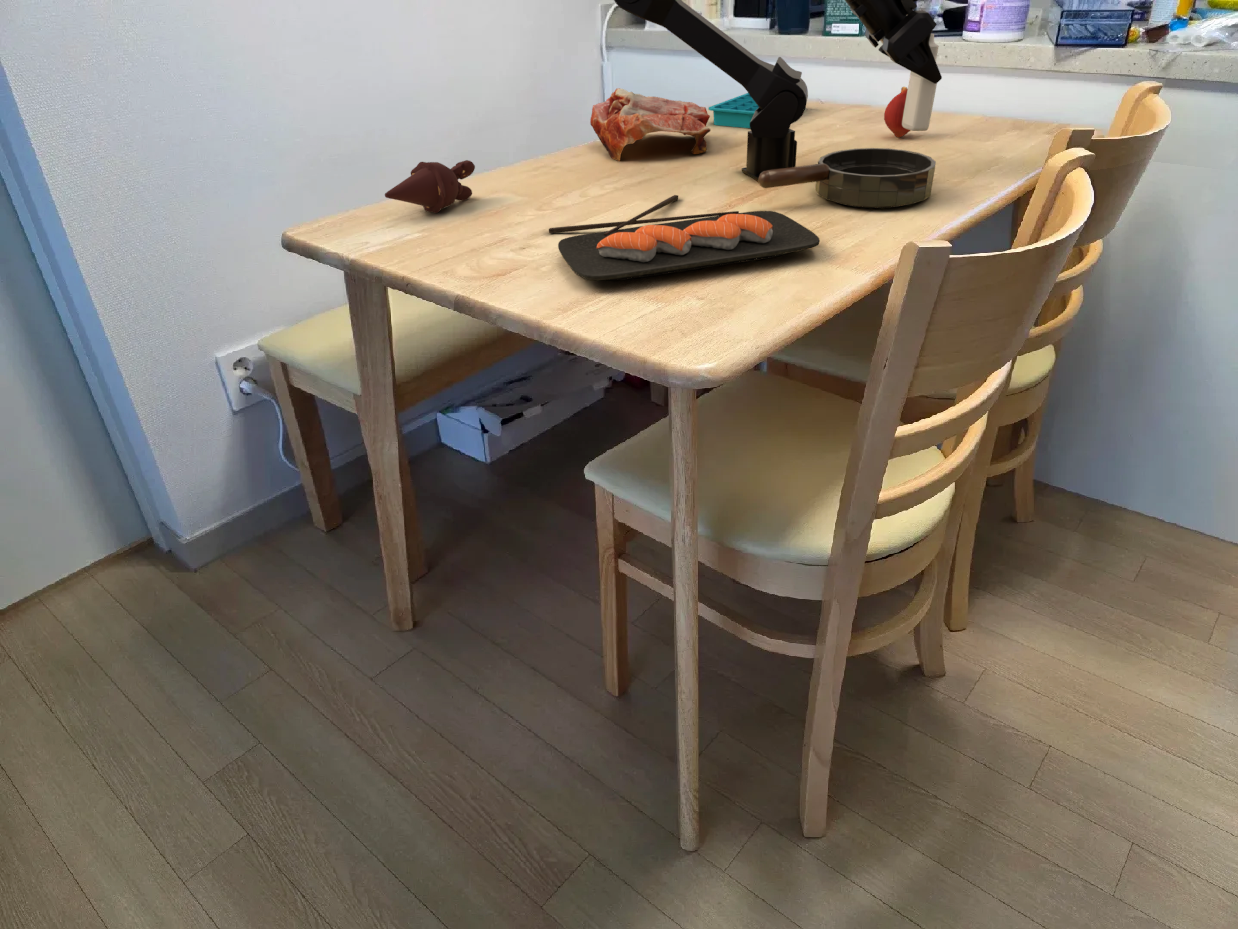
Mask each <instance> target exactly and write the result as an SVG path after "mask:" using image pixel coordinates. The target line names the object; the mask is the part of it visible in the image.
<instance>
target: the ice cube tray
mask: <svg viewBox="0 0 1238 929" xmlns="http://www.w3.org/2000/svg"><path fill="white" fill-rule="evenodd" d="M758 108H759V106H758V105H757V104H756V103H755V101H754V100H753V99H752V97H751V96H750V94H749V93H748V92H747V93H744V94H741V95H738V96H736V97H732V98H729V99H727V100H725V101H722V102H719V103H717V104H714V105H711V106H708V111H711V112H712V113H713V125H715V126H720V127H722V126H723V127H731V128H732V127H733V128H742V129H743V128H744V129H751V128H750V121H751V119H752V117H753V115H754V112H755V111H756V110H757V109H758Z"/></svg>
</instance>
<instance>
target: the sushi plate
mask: <svg viewBox="0 0 1238 929" xmlns="http://www.w3.org/2000/svg"><path fill="white" fill-rule="evenodd" d="M678 200H679V195H678V194H674V195H672V196H670V197H668V198H666V199H664V200H662V201H660V202H659V203H657V204H655V205H654V206H651V207H650V208H649V209H646V210H645V211H643V212H641V213H639V214H637V215H636V216H634V217H632V218H630V219H628V220H624V221H611V222H599V223H588V224H578V225H567V226H555V227H549V228H548V234H558V233H559V234H560V233H568V232H569V233H570V232H578V231H589V230H598V229H599V230H600V229H607V228H608V229H609V228H612V229H610V230H605V231H598V232H590V233H585V234H578V235H573V236H569V237H565V238H562V239H560V240H559V241H558V244H557V249H558V251H559V253H560V255H561V256H562V258H563V260H564V261H565V262H566V263H567V265H568V267H570V269H571V270H572V272H574V273H575V274H576V275H577V276H578V277H580V278H582V279H585V280H588V281H589V280H590V281H602V280H604V281H626V280H634V279H639V278H646V277H653V276H659V275H666V274H673V273H680V272H686V271H692V270H699V269H706V268H712V267H719V266H727V265H733V264H739V263H747V262H752V261H759V260H760V261H761V260H765V259H772V258H777V257H781V256H783V255H785V254H790V253H794V252H800V251H806V250H810V249H813V248H816V247H818V246H819V245H820V242H821V240H820V237H819V236H818V235H817V234H816V233H814V232H813V231H811V230H810V229H808V228H807V227H805V226H804V225H802V224H801V223H800V222H798V221H796V220H794V219H792V218H790V217H789V216H787V215H785V214H783V213H780V212H778V211H772V210H754V211H746V212H744V211H743V212H740V211H739V210H734V211H722V212H712V213H711V212H710V213H701V214H691V215H680V216H679V215H678V216H668V217H659V218H649V219H648V218H647V219H642V218H643V217H646V216H648V215H650V214H652V213H654V212H656V211H659V210H660V209H663V208H664V207H666V206H668V205H670V204H672V203H674V202H676V201H678ZM669 221H670V222H669ZM662 222H663V223H662ZM651 223H652V224H651ZM653 223H657V224H653ZM643 224H647V225H643ZM633 225H642V226H633ZM626 226H633V227H627V228H624V227H626Z"/></svg>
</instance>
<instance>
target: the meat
mask: <svg viewBox="0 0 1238 929" xmlns="http://www.w3.org/2000/svg"><path fill="white" fill-rule="evenodd" d="M710 118H711V115H710V114H709V113H708V111H707V108H706V107H705V106H700V105H698V104H697V103H695V102H693V101H682V100H673V99H668V98H665V97H660V96H646V95H643V94H640V93H634V92H633V91H628V90H626V89H625V88H621V87H617V88H616V89H615V90H614V91H613V92H612V93H611V94H610V96H609V97H608V98H607V99H606V100H605V101H603V102H598V103H596V104H593V105H592V108H591V116H590V119H589V120H590V122H589V124H590V126H591V127H592V129H593V131H594V133H595V134H596V135H597V138H598V140H599V141H600V143H601V144H602V146H603V147H604V149H605V150H606V152H608V155H609V156H610V158H611V159H612V160H616V161H617V162H620V161H621V155H622V152H623V149H624V148H625V147H626V146H627V145H630V144H634V143H635V142H636V141H638V140H643V138H644V137H645V136H646V135H647V134H651V133H658V132H669V133H679V134H683V136H690V137H692V138H695V144H694V146H693V147H692V149H691V150H690V153H691V154H693V155H699V154H702V153H706V152H707V146H708V144H707V140H706V139H705V137H706V136H707V134H708V133H710V132H711V128H710V127H708V126H707V124H708V122H709V120H710Z"/></svg>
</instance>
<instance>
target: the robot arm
mask: <svg viewBox="0 0 1238 929" xmlns="http://www.w3.org/2000/svg"><path fill="white" fill-rule="evenodd" d="M613 1H614V3H615V5H617V6H618V7H619V8H620V9H621V10H623V11H626V12H627V13H629V14H631V15H633V16H635V17H637V18H640V19H641V20H644V21H647V22H650V23H652V24H655V25H657V26H661V27H663V28H664V29H666V30H667V31H668V32H670V33H671V34H673V35H674V36H675V37H677V38H678V39H679V40H681V41H682V42H683V43H685V44H686V45H687V46H689V47H690V48H691V49H692V50H694V51H695V52H697V53H698V54H699V55H701V56H702V57H703V58H705V59H706V60H707V61H709V62H710V63H711V64H713V65H714V66H715V67H717V68H718V69H719V70H720V71H722V72H723V73H725V74H726V75H727V76H729V77H730V78H732V79H733V80H734V81H736V82H737V83H738V84H740V85H741V86H742V87H743V88H744V89H745V91H746V92H747V93H749V94H750V96H751V97H752V99H753V100H754V101H755V103H756V104H757V105H758V106H759V108H758V109H757V110H756V111H755V112H754V115H753V117H752V119H751V121H750V128H749V129H750V130H748V131H747V137H746V138H747V139H746V140H747V141H746V164H745V165H746V166H745V167H742V168H741V172H742V173H744V174H745V175H747V176H749V177H750V178H752V179H754V180H756V181H758V178H759V175H760V174H761V173H762V172H763V171H767V170H775V169H782V168H790V167H797V165H796V164H797V149H798V141H797V140H796V139H795V138H796V130H793V128H791V126H792V124H794V123H796V122H798V120H799V119H800V118H801V117H802V116H803V114H804V113H805V111H806V108H807V104H808V98H809V91H808V85H807V84H806V82H805V81H804V79H802V75H803V72H802V71H799V70H796V69H794V68H792V67H791V66H790V65H789V64H788V63H787V61H785V60H784V59H783V58H782V57H781V56H778V58H777V60H776V61H775V64H772V63H769V62H767V61H764V60H763V59H760V58H758V57H757V56H756V55H754V54H753V53H752V52H750V51H749V50H747V49H746V48H745V47H744V46H743V45H741V44H740V43H739V42H737V41H736V40H735V39H734V38H732V37H731V36H729V35H728V34H727V33H725V32H724V31H723V30H721V28H719V27H717V26H716V25H715V24H714V23H713V22H711V21H709V20H708V19H707V18H705V17H704V16H703V15H702V14H700V13H699V12H697V11H696V10H695V9H694V8H692V7H691V6H690V5H688V4H687V3H686V2H684V1H683V0H613ZM844 1H845V3H846V4H847V5H848V7H849V10H850V11H851V12H852V14H853V15H854V16H856V17H857V18H858V20H859V21H860V22H861V23H862V25H863V26H864V27H865V34H864V37H865V38H866V39H867V40H868V41H869V43H870V44H871V46H872V47H874V48H878V46H879V45H880V43H881V46H879V48H878V51H879V52H880V53H882V54H883V55H885V56H886V57H887V58H889V59H890V60H891V61H892V62H893V63H895V64H897V65H898V66H901V67H903V68H904V69H906V70H908V71H910V72H911V71H912V72H914V73H916V74H918V75H919V76H921V77H923V78H925V79H927V80H929V81H931V82H932V83H934V84H936V83H937V84H938V83H939V82H940V81H941V80H942V79H943V76H942V74H941V71H940V69H939V66H938V64H937V60H936V61H935V59H934V56H933V54H932V51H931V48H930V46H929V40H930V36H931V34H932V33H933V31H934V29H935V28H936V27H937V25H938V24H937V23H936V21H935V20H934V18H933V17H932V15H931V14H930V13H929V12H928V11H925V10H923V9H922V10H921V9H920V10H917V9H916V8H917V7H918V5H917V4H916V2H918V1H919V0H844ZM915 9H916V10H915ZM879 42H880V43H879Z"/></svg>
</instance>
